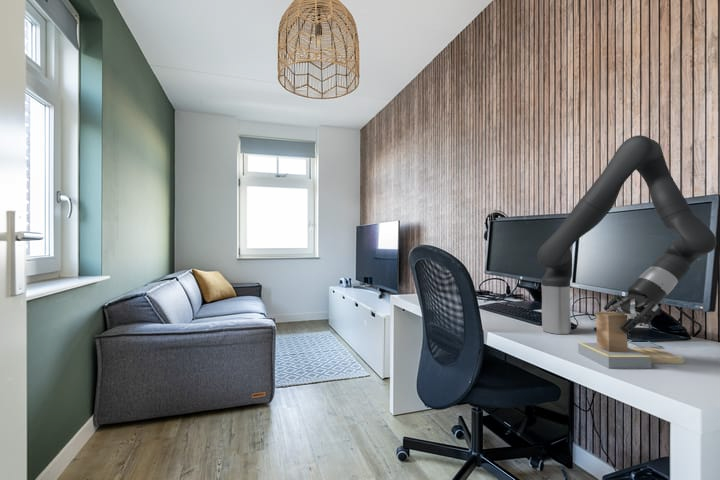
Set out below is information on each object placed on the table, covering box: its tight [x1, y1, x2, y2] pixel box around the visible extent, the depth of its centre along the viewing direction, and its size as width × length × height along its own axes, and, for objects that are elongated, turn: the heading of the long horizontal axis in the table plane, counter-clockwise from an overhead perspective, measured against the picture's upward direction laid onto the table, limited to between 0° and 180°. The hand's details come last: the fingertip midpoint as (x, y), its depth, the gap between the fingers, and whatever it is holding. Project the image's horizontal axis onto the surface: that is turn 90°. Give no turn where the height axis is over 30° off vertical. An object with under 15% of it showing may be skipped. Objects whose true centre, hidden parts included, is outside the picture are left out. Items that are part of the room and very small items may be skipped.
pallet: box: [628, 346, 685, 365], centre depth 97 cm, size 10×10×2 cm
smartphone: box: [627, 341, 665, 350], centre depth 113 cm, size 7×1×15 cm
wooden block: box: [595, 311, 629, 352], centre depth 96 cm, size 5×5×10 cm
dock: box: [577, 342, 652, 369], centre depth 96 cm, size 13×11×3 cm
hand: (611, 327), depth 96 cm, fingers open, 8 cm apart
